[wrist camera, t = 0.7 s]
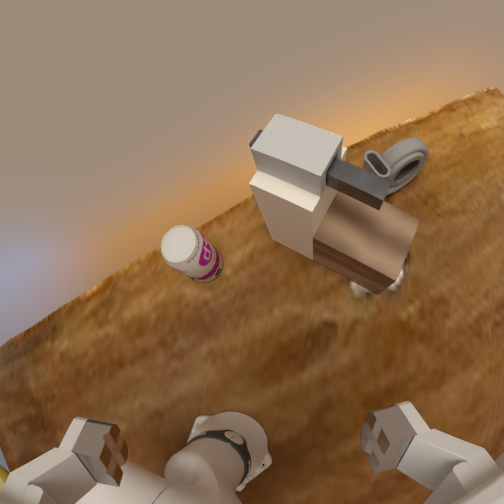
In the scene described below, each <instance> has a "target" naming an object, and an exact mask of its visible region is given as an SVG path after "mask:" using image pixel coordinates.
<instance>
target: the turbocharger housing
mask: <svg viewBox="0 0 504 504" xmlns="http://www.w3.org/2000/svg"><path fill="white" fill-rule="evenodd" d="M428 155H429V151H428V148H427V146H426V145H425V144H424V143H423V142H422V141H421V140H420V139H419V138H417V137H411V138H408V139H405V140H401V141H399V142H397V143H395V144H394V145H392V146H391V147H390V148H389V149H387V150H386V151H385V152H384V154H383V155H382V156H380V155H379V154H378V153H377V152H375V151H367V152H366V153H365V154H364V159H365V160H364V164H363V170H365V171H367V172H370V173H372V174H374V175H376V176H378V177H380V178H382V179H384V180H386V181H389V182H391V184H390V187H389V189H388V192H387V194H386V196H387V195H390V194H392V193H394V192H396V191H397V190H399V189H401V188H402V187H404V186H405V185H406V184H407V183H409V182H410V181H411V180H412V179H413V178H414V177H415V176H416V175H417V174H418V173H419V172H420V171H421V169H422V168H423V166H424V165H425V163H426V161H427V159H428Z"/></svg>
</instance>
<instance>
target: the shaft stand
mask: <svg viewBox="0 0 504 504" xmlns="http://www.w3.org/2000/svg"><path fill="white" fill-rule="evenodd" d="M342 141H343V137H342V136H340V135H337V134H334V133H332V132H329V131H327V130H324V129H321V128H319V127H315V126H313V125H310V124H307V123H304V122H301V121H298V120H295V119H292V118H289V117H286V116H283V115H280V114H277V113H276V114H275V116H274V117H273V119H272V120H271V121H270V122H269V124H268V125H267V126H266V128H265V129H264V130H263V132H262V133H261V134H260V136H259V137H258V139H257V140H256V141H255V143H254V144H253V145H252V147H251V151H252V155H253V157H254V160H255V163H256V166H257V169H258V171H257V172H256V174H255V175H254V177H253V178H252V180H251V181H250V183H249V185H250V187H251V189H252V192H253V194H254V197H255V199H256V201H257V204H258V206H259V209H260V211H261V213H262V216H263V218H264V221H265V223H266V225H267V228H268V230H269V233H270V235H271V238H272V239H273V240H275V241H277V242H279V243H281V244H282V245H284V246H286V247H288V248H290V249H292V250H294V251H296V252H298V253H300V254H302V255H304V256H306V257H308V258H310V259H312V260H313V236H314V234H315V233H316V231H317V229H318V227H319V225H320V223H321V222H322V220H323V218H324V216H325V214H326V212H327V210H328V209H329V207H330V205H331V203H332V201H333V199H334V197H335V195H336V193H337V192H338V191H337V190H335V189H333V188H330V187H328V186H326V171H327V169H328V167H329V166H330V164H331V162H332V160H333V158H334V157H335V158H338V159H340V160H343V161H346V153H347V148H346V147H343V146H342Z"/></svg>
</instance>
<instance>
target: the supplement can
mask: <svg viewBox="0 0 504 504" xmlns="http://www.w3.org/2000/svg"><path fill="white" fill-rule="evenodd" d="M161 252H162V256H163V258H164V260H165V262H166V263H167V264H169V265H170V266H171V267H173V268H175V269H176V270H178V271H180V272H182V273H183V274H185V275H187V276H189V277H191V278H193V279H194V280H196V281H199V282H210V281H212V280H214V279H215V278H216V277H217V276H218V275H219V274H220V272H221V270H222V266H223V259H222V256H221V254H220V253H219V251H218V250H217V249H216V248H215V247H214V246H213V245H212V244H211V243H210V242H209V241H208V240H207V239H206V238H205V237H204V236H203V235H202V234H201V233H200V232H199V231H198V230H196V229H195V228H193V227H192V226H187V225H183V226H182V225H180V226H175V227H173V228H171V229H170V230H169V231H168V232H167V233H166V234H165V235H164V237H163V239H162V242H161Z"/></svg>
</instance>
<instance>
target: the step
mask: <svg viewBox="0 0 504 504" xmlns="http://www.w3.org/2000/svg"><path fill="white" fill-rule="evenodd" d="M419 221H420V220H419V219H417V218H416V217H414V216H412V215H410V214H408V213H406V212H404V211H402V210H401V209H399V208H397V207H395V206H393V205H391V204H389V203H387V202H385V201H383V203H382V206H381V208H380V210H377V209H375V208H373V207H371V206H369V205H366V204H364V203H362V202H360V201H358V200H356V199H354V198H352V197H350V196H348V195H346V194H343V193H341V192H339V191H338V192H337V193H336V195H335V197H334V199H333V201H332V203H331V205H330V207H329V209H328V210H327V212H326V214H325V216H324V218H323V220H322V222H321V223H320V225H319V227H318V229H317V231H316V233H315V234H314V236H313V261H315V262H317V263H319V264H321V265H323V266H325V267H327V268H329V269H331V270H333V271H334V272H336V273H338V274H340V275H342V276H344V277H346V278H348V279H350V280H351V281H353V282H355V283H357V284H359V285H361V286H363V287H365V288H367V289H368V290H370V291H372V292H374V293H376V294H379V293H380V292H382V291H383V290H385V289H386V288H387V287H389V286H390V285H391V284H392V283H394V282H395V281H396V279H397V277H398V275H399V273H400V270H401V268H402V265H403V263H404V261H405V258H406V256H407V253H408V251H409V248H410V246H411V243H412V240H413V238H414V235H415V233H416V230H417V227H418V224H419Z"/></svg>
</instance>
